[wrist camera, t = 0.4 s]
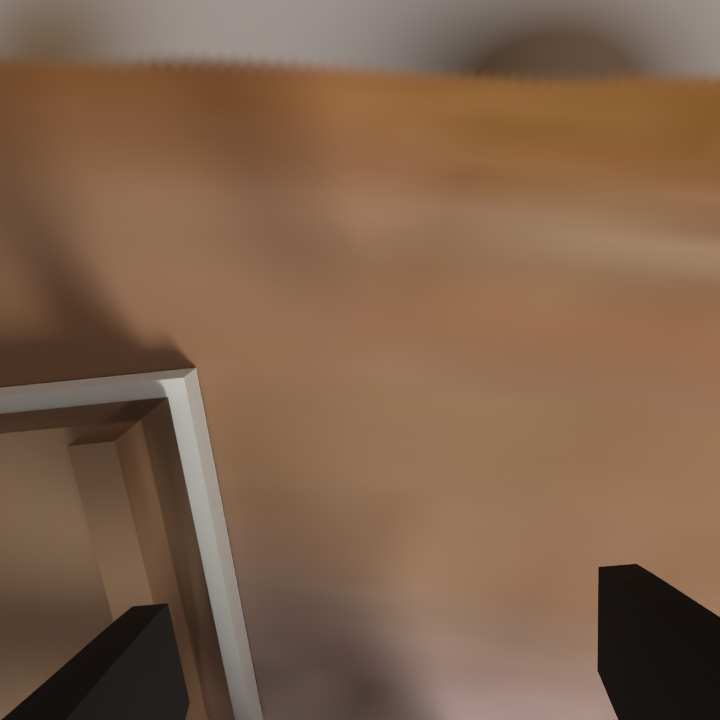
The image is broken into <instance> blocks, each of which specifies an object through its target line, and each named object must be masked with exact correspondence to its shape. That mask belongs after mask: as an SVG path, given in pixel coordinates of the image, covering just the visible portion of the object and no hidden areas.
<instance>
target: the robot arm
mask: <svg viewBox="0 0 720 720" xmlns="http://www.w3.org/2000/svg"><path fill="white" fill-rule="evenodd" d="M598 672H599V675H600V677H601V680H602V682H603V684H604V687H605V689H606V692H607V694H608V696H609V699H610V701H611V704H612V706H613V708H614V711H615V713H616V715H617V717H618V720H720V617H719V616H717V615H716V614H714V613H712V612H711V611H709V610H708V609H706V608H705V607H703V606H702V605H700V604H699V603H697V602H696V601H694V600H692V599H691V598H689V597H688V596H686V595H685V594H683V593H682V592H680V591H679V590H677V589H676V588H674V587H673V586H671V585H669V584H668V583H666V582H665V581H663V580H662V579H660V578H659V577H657V576H655V575H654V574H652V573H651V572H649V571H647V570H646V569H644V568H642V567H641V566H639V565H637V564H630V565H618V566H606V567H599V584H598ZM189 704H190V701H189V696H188V692H187V687H186V683H185V678H184V674H183V669H182V665H181V660H180V656H179V651H178V646H177V642H176V637H175V633H174V628H173V624H172V619H171V615H170V610H169V606H168V603H166V604H154V605H142V606H133V607H131V608H130V609H129V610H127V611H126V612H125V613H124V614H122V615H121V616H120V617H119V618H118V619H116V620H115V621H114V622H113V623H112V624H110V625H109V626H108V627H107V628H106V629H105V630H103V631H102V632H101V633H100V634H99V635H98V636H97V637H95V638H94V639H93V640H92V641H91V642H90V643H89V644H87V645H86V646H85V647H84V648H83V649H82V650H81V651H80V652H78V653H77V654H76V655H75V656H74V657H73V658H72V659H71V660H69V661H68V662H67V663H66V664H65V665H64V666H63V667H61V668H60V669H59V670H58V671H57V672H56V673H55V674H53V675H52V676H51V677H50V678H49V679H48V680H47V681H45V682H44V683H43V684H42V685H41V686H40V687H38V688H37V689H36V690H35V691H34V692H33V693H32V694H30V695H29V696H28V697H27V698H26V699H25V700H24V701H22V702H21V703H20V704H19V705H18V706H17V707H16V708H14V709H13V710H12V711H11V712H10V713H9V714H7V715H6V716H5V717H4V718H3V719H1V720H186V716H187V712H188V708H189Z"/></svg>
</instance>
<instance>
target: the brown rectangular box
mask: <svg viewBox="0 0 720 720" xmlns="http://www.w3.org/2000/svg"><path fill="white" fill-rule="evenodd" d="M166 603H168V606H169V610H170V615H171V619H172V624H173V628H174V633H175V637H176V642H177V646H178V651H179V656H180V660H181V665H182V669H183V674H184V678H185V683H186V687H187V692H188V696H189V701H190V704H189V708H188V712H187V716H186V720H235V718H234V713H233V708H232V703H231V699H230V694H229V689H228V684H227V679H226V674H225V670H224V665H223V660H222V655H221V650H220V646H219V641H218V636H217V631H216V626H215V621H214V617H213V612H212V607H211V602H210V597H209V592H208V588H207V583H206V578H205V573H204V568H203V564H202V559H201V554H200V549H199V544H198V539H197V535H196V530H195V525H194V520H193V515H192V511H191V506H190V501H189V496H188V491H187V486H186V482H185V477H184V472H183V467H182V462H181V458H180V453H179V448H178V443H177V438H176V433H175V429H174V424H173V419H172V414H171V409H170V404H169V400H168V397H162V398H153V399H143V400H133V401H123V402H113V403H103V404H93V405H83V406H73V407H63V408H53V409H43V410H33V411H23V412H13V413H3V414H0V720H1V719H3V718H4V717H5V716H6V715H7V714H9V713H10V712H11V711H12V710H13V709H14V708H16V707H17V706H18V705H19V704H20V703H21V702H22V701H24V700H25V699H26V698H27V697H28V696H29V695H30V694H32V693H33V692H34V691H35V690H36V689H37V688H38V687H40V686H41V685H42V684H43V683H44V682H45V681H47V680H48V679H49V678H50V677H51V676H52V675H53V674H55V673H56V672H57V671H58V670H59V669H60V668H61V667H63V666H64V665H65V664H66V663H67V662H68V661H69V660H71V659H72V658H73V657H74V656H75V655H76V654H77V653H78V652H80V651H81V650H82V649H83V648H84V647H85V646H86V645H87V644H89V643H90V642H91V641H92V640H93V639H94V638H95V637H97V636H98V635H99V634H100V633H101V632H102V631H103V630H105V629H106V628H107V627H108V626H109V625H110V624H112V623H113V622H114V621H115V620H116V619H118V618H119V617H120V616H121V615H122V614H124V613H125V612H126V611H127V610H129V609H130V608H131V607H133V606H142V605H154V604H166Z"/></svg>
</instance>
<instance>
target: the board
mask: <svg viewBox="0 0 720 720" xmlns="http://www.w3.org/2000/svg"><path fill="white" fill-rule="evenodd" d="M162 397H168V400H169V404H170V409H171V414H172V419H173V424H174V429H175V433H176V438H177V443H178V448H179V453H180V458H181V462H182V467H183V472H184V477H185V482H186V486H187V491H188V496H189V501H190V506H191V511H192V515H193V520H194V525H195V530H196V535H197V539H198V544H199V549H200V554H201V559H202V564H203V568H204V573H205V578H206V583H207V588H208V592H209V597H210V602H211V607H212V612H213V617H214V621H215V626H216V631H217V636H218V641H219V646H220V650H221V655H222V660H223V665H224V670H225V674H226V679H227V684H228V689H229V694H230V699H231V703H232V708H233V713H234V718H235V720H263V717H262V711H261V706H260V701H259V696H258V690H257V685H256V680H255V675H254V669H253V664H252V659H251V654H250V648H249V643H248V638H247V633H246V627H245V622H244V617H243V612H242V606H241V601H240V596H239V591H238V585H237V580H236V575H235V570H234V564H233V559H232V554H231V549H230V543H229V538H228V533H227V528H226V522H225V517H224V512H223V507H222V501H221V496H220V491H219V486H218V480H217V475H216V470H215V465H214V459H213V454H212V449H211V444H210V438H209V433H208V428H207V423H206V417H205V412H204V407H203V402H202V396H201V391H200V386H199V381H198V375H197V370H196V368H189V369H179V370H169V371H159V372H149V373H139V374H130V375H120V376H110V377H100V378H90V379H81V380H71V381H61V382H51V383H41V384H31V385H22V386H12V387H2V388H0V414H3V413H13V412H23V411H33V410H43V409H53V408H63V407H73V406H83V405H93V404H103V403H113V402H123V401H133V400H143V399H153V398H162Z"/></svg>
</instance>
